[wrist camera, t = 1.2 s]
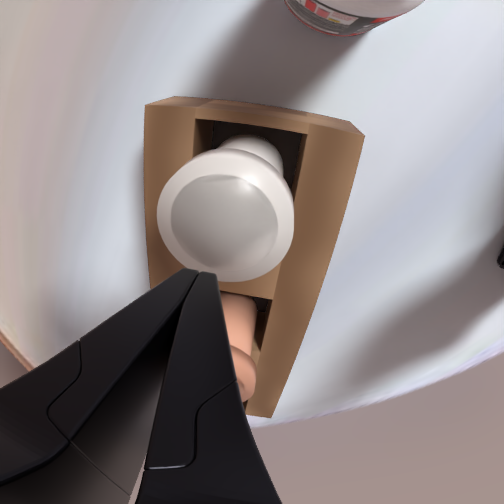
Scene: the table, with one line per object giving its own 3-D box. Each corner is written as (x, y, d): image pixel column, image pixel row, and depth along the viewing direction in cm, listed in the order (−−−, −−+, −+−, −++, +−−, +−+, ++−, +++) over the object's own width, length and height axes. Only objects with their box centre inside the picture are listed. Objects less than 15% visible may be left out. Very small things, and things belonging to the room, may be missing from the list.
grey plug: (301, 132, 14) (307, 171, 9) (285, 217, 16) (280, 291, 11) (205, 118, 14) (156, 150, 9) (199, 203, 17) (159, 269, 12)
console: (349, 121, 16) (364, 135, 12) (274, 384, 30) (271, 418, 26) (174, 96, 16) (144, 104, 13) (177, 366, 30) (166, 397, 27)
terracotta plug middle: (270, 288, 19) (260, 368, 14) (259, 337, 22) (249, 410, 17) (196, 275, 19) (166, 349, 14) (196, 325, 22) (172, 394, 17)
